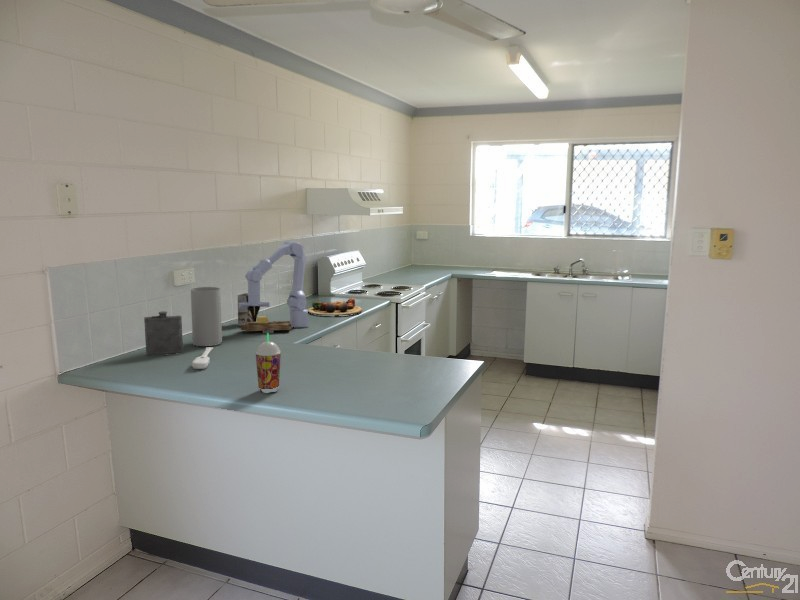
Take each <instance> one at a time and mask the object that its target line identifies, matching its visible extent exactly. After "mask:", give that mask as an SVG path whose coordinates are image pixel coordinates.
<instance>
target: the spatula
mask: <svg viewBox="0 0 800 600" xmlns="http://www.w3.org/2000/svg"><path fill="white" fill-rule="evenodd" d="M213 349H214V346H212V347H205V350H204V351H203V353H202V354H201V355H200V356H197V357H195V359H193V360H192V362H191V363H192V364H191V365H192V368H193V369H194V370H204V369H207V368H208V367H209V365H210V361H211V360H210V357H209V356H208V355H209V354H210V352H211V351H212V350H213ZM208 364H209V365H208ZM207 366H208V367H207ZM206 367H207V368H206Z"/></svg>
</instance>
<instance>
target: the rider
mask: <svg viewBox="0 0 800 600" xmlns="http://www.w3.org/2000/svg"><path fill="white" fill-rule="evenodd" d="M268 317H269V316H268V315H263V316H262V315H261V316H259V315H257V318H256V322H257V323H258V324H267V323H268V322H269V321H268V320H269V318H268Z"/></svg>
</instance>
